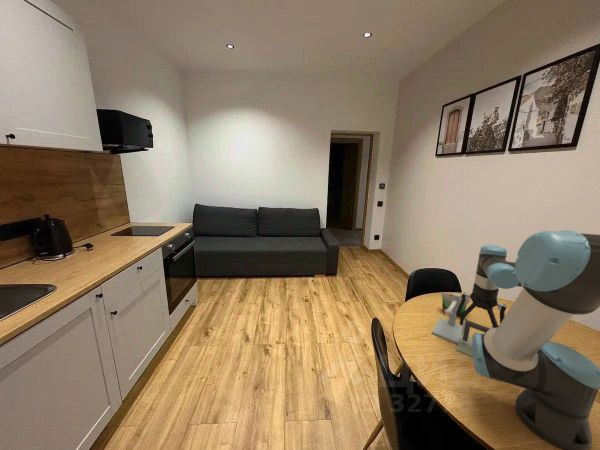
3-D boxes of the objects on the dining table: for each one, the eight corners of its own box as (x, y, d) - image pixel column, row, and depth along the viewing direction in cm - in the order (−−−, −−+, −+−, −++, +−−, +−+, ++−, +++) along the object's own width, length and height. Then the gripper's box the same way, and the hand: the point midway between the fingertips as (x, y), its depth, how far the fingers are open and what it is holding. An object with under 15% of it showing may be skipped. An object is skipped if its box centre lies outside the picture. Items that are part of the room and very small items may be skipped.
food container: (441, 316, 118) (444, 297, 116) (438, 309, 124) (441, 291, 121) (470, 321, 114) (474, 302, 112) (466, 313, 120) (469, 295, 118)
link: (486, 349, 93) (490, 330, 91) (462, 339, 99) (465, 321, 96) (487, 347, 94) (491, 328, 92) (463, 338, 100) (466, 319, 98)
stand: (457, 345, 98) (463, 311, 95) (430, 334, 105) (435, 301, 101) (464, 328, 109) (470, 297, 105) (440, 319, 115) (445, 289, 112)
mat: (486, 363, 89) (487, 362, 89) (455, 350, 96) (455, 348, 96) (490, 346, 98) (491, 345, 98) (462, 335, 104) (462, 334, 104)
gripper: (523, 291, 86) (510, 345, 91) (456, 274, 100) (448, 321, 105) (523, 299, 81) (509, 356, 86) (451, 280, 95) (443, 330, 100)
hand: (475, 337), depth 96 cm, fingers open, 8 cm apart
